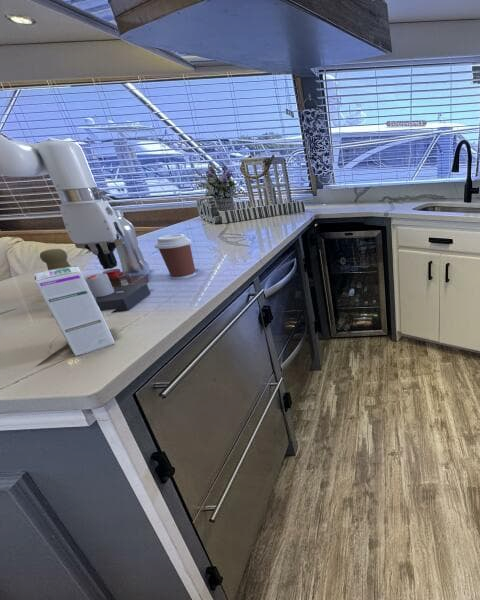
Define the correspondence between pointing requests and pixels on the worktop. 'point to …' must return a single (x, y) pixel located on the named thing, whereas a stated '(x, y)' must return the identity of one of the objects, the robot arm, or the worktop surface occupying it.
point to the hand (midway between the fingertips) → (110, 267)
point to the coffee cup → (177, 255)
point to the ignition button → (113, 273)
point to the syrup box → (74, 309)
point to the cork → (55, 258)
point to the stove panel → (123, 297)
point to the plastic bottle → (130, 249)
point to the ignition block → (128, 279)
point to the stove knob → (99, 284)
